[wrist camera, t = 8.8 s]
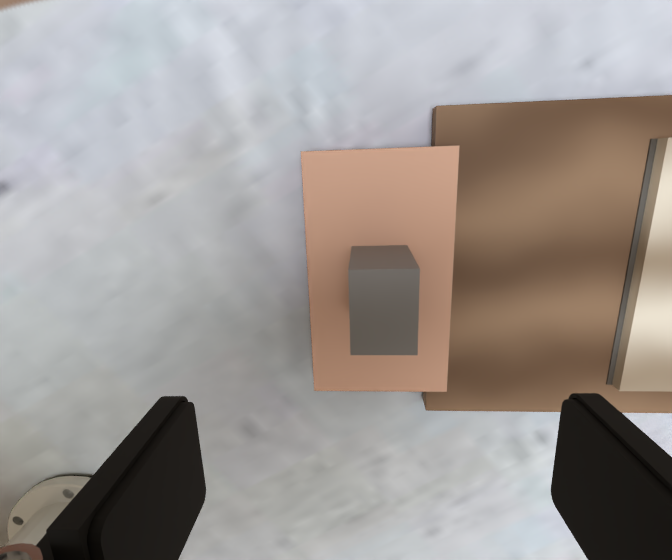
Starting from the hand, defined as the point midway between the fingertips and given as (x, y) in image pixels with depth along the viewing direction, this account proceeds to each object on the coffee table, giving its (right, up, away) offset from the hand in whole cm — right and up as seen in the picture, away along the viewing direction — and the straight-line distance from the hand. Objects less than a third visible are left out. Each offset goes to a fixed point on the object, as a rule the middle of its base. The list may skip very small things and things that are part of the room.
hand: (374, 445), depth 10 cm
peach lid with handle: (+1, +4, +13) cm, 14 cm away
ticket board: (+17, +5, +13) cm, 22 cm away
